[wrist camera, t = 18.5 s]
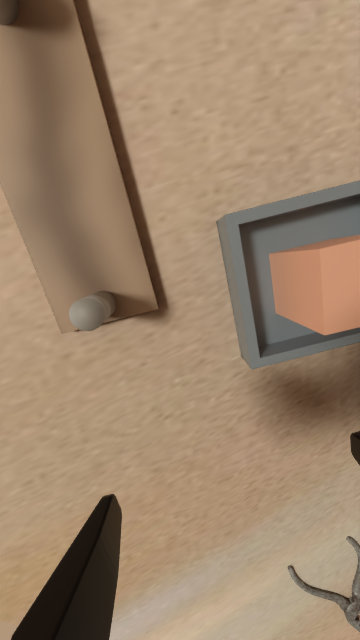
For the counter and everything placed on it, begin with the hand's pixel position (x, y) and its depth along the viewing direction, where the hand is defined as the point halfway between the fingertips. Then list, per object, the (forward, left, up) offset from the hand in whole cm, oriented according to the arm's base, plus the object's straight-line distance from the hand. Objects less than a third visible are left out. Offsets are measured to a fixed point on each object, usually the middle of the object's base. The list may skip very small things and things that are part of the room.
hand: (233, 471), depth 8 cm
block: (-10, -4, -12) cm, 16 cm away
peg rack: (+6, -15, -12) cm, 20 cm away
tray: (-10, -4, -12) cm, 16 cm away
